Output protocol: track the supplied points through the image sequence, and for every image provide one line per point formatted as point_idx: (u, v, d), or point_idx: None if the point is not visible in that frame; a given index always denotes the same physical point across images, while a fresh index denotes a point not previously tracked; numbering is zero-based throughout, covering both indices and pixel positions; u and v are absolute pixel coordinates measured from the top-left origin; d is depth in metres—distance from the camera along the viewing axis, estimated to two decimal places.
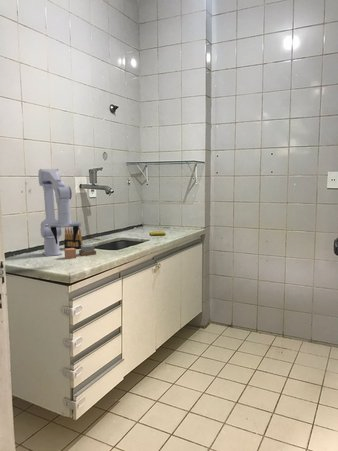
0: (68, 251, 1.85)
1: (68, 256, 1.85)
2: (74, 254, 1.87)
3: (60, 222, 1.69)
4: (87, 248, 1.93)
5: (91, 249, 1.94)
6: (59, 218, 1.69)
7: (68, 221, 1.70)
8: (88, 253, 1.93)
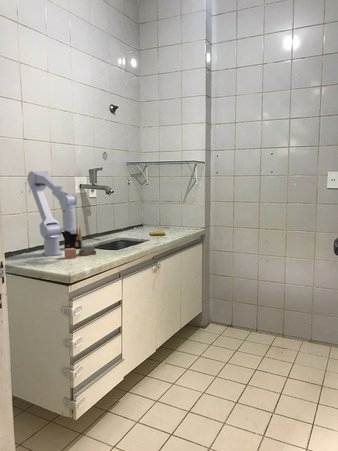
0: (68, 251, 1.85)
1: (68, 256, 1.85)
2: (74, 254, 1.87)
3: None
4: (87, 248, 1.93)
5: (91, 249, 1.94)
6: None
7: (65, 227, 1.83)
8: (88, 253, 1.93)
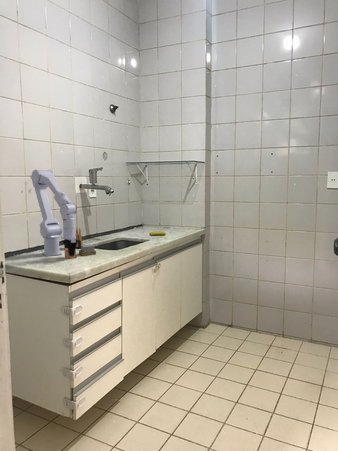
0: None
1: (68, 256, 1.85)
2: (74, 254, 1.87)
3: None
4: (87, 248, 1.93)
5: (91, 249, 1.94)
6: None
7: (65, 235, 1.84)
8: (88, 253, 1.93)
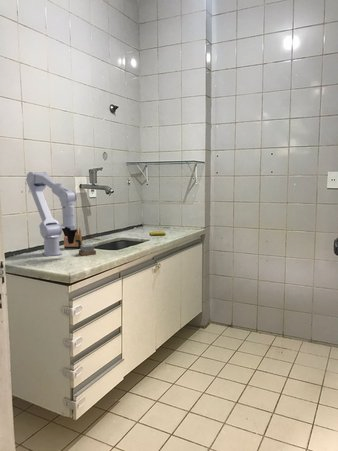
0: (67, 239, 1.84)
1: (67, 244, 1.84)
2: None
3: None
4: (87, 248, 1.93)
5: (91, 249, 1.94)
6: None
7: (64, 223, 1.83)
8: (88, 253, 1.93)
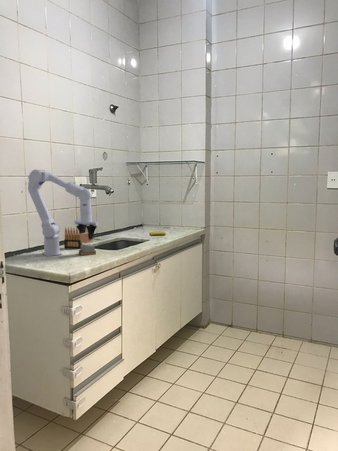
0: None
1: (88, 240, 1.93)
2: None
3: None
4: (87, 248, 1.93)
5: (91, 249, 1.94)
6: None
7: (85, 220, 1.91)
8: (88, 253, 1.93)
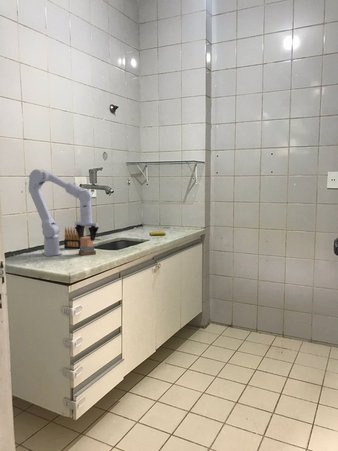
0: (88, 239, 1.93)
1: (88, 244, 1.93)
2: (92, 241, 1.96)
3: None
4: (87, 248, 1.93)
5: (91, 249, 1.94)
6: None
7: (85, 221, 1.91)
8: (88, 253, 1.93)
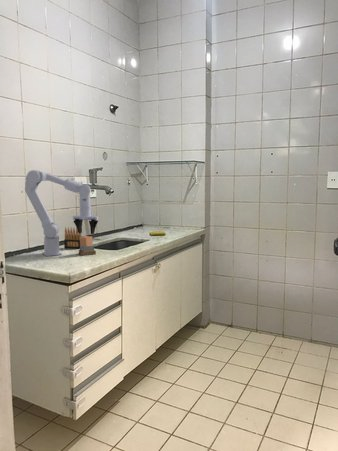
0: (87, 239, 1.93)
1: (87, 243, 1.94)
2: (91, 241, 1.96)
3: (80, 215, 1.95)
4: (87, 248, 1.94)
5: (91, 249, 1.95)
6: None
7: (85, 214, 1.94)
8: (88, 253, 1.93)
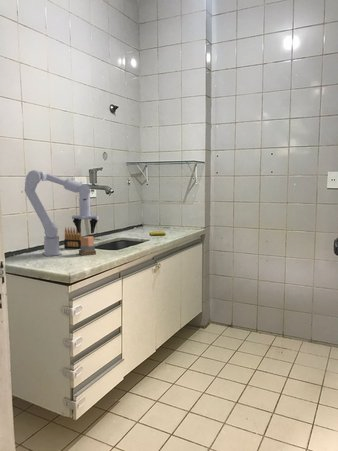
0: (89, 239, 1.93)
1: (89, 243, 1.94)
2: (92, 241, 1.96)
3: (80, 214, 1.97)
4: (87, 248, 1.94)
5: (91, 249, 1.95)
6: None
7: (85, 214, 1.96)
8: (88, 253, 1.93)
